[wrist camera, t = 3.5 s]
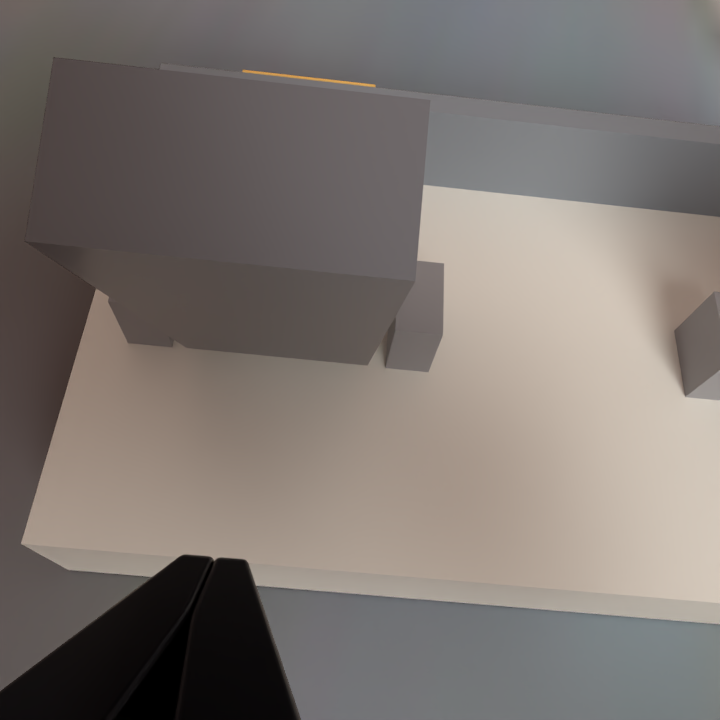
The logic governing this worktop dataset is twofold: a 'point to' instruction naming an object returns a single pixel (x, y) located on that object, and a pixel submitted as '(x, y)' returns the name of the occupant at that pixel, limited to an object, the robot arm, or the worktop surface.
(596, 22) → the worktop surface
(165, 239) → the grey rectangular carton
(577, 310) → the switch panel
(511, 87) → the worktop surface
